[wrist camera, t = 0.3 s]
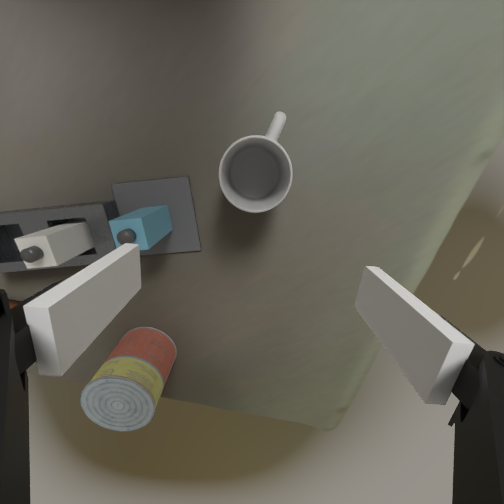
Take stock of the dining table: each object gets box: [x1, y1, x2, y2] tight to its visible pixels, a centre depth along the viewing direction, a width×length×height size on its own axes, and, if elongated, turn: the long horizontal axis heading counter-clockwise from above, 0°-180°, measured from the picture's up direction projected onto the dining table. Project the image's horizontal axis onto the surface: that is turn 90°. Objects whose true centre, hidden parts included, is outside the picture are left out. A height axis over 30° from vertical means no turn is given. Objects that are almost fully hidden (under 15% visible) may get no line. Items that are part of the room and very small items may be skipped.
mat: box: [111, 176, 201, 256], centre depth 40 cm, size 12×12×1 cm
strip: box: [0, 200, 120, 273], centre depth 39 cm, size 22×9×4 cm, turn 95°
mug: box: [218, 112, 293, 213], centre depth 32 cm, size 12×8×11 cm
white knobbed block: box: [14, 220, 95, 269], centre depth 35 cm, size 4×4×11 cm
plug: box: [109, 205, 173, 250], centre depth 34 cm, size 4×4×11 cm
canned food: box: [80, 327, 177, 431], centre depth 43 cm, size 11×11×12 cm
